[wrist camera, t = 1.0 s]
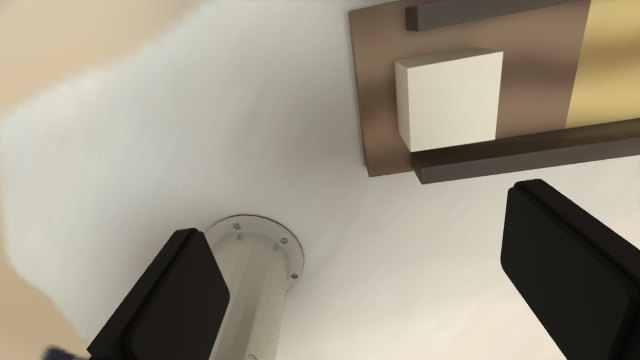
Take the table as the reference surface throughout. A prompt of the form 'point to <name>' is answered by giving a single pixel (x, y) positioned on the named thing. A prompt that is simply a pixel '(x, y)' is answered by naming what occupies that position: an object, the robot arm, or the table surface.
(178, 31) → the table surface
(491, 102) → the cream block
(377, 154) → the tunnel deck
